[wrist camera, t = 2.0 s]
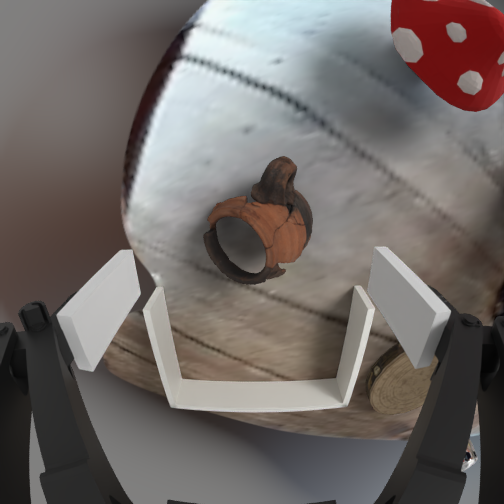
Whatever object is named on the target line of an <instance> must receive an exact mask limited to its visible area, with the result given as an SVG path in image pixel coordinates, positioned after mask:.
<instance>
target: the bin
mask: <svg viewBox="0 0 504 504" xmlns="http://www.w3.org/2000/svg"><path fill="white" fill-rule="evenodd" d="M374 311H375V308H374V306H373V304H372V303H371V301H370V299H369V298H368V296H367V295H366V293H365V291H364V290H363V288H362V287H361V285H360V286H354V291H353V298H352V303H351V309H350V315H349V320H348V325H347V331H346V336H345V341H344V345H343V350H342V355H341V359H340V363H339V368H338V372H337V376H336V378H331V379H318V380H302V381H275V382H234V381H207V380H191V379H182V376H181V372H180V368H179V364H178V359H177V355H176V351H175V346H174V341H173V337H172V332H171V327H170V322H169V317H168V311H167V306H166V300H165V295H164V289H163V287H156V289H155V291H154V292H153V294H152V296H151V297H150V299H149V300H148V302H147V304H146V305H145V307H144V309H143V313H144V318H145V322H146V326H147V330H148V334H149V338H150V341H151V345H152V349H153V353H154V356H155V360H156V363H157V367H158V370H159V373H160V376H161V380H162V383H163V386H164V389H165V392H166V395H167V398H168V401H169V404H170V407H172V408H181V409H192V410H205V411H223V412H289V411H306V410H320V409H330V408H340V407H348V404H349V401H350V398H351V395H352V392H353V389H354V385H355V382H356V379H357V376H358V372H359V369H360V366H361V362H362V359H363V355H364V351H365V348H366V344H367V340H368V336H369V332H370V328H371V324H372V320H373V315H374Z"/></svg>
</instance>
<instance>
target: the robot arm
mask: <svg viewBox="0 0 504 504" xmlns="http://www.w3.org/2000/svg"><path fill="white" fill-rule="evenodd" d="M367 292H368V293H369V295H370V297H371V298H372V300H373V301H374V303H375V304H376V306H377V307H378V309H379V310H380V312H381V313H382V315H383V317H384V318H385V320H386V321H387V323H388V325H389V326H390V328H391V329H392V331H393V333H394V334H395V336H396V337H397V339H398V341H399V342H400V344H401V346H402V347H403V349H404V351H405V352H406V354H407V356H408V357H409V359H410V361H411V363H412V364H413V366H414V368H415V369H418V368H423V367H427V366H430V364H431V362H432V360H433V357H434V355H435V356H436V357H437V359H438V360H439V361H438V363H437V365H436V368H435V370H434V372H433V374H432V376H431V378H430V380H431V384H430V387H429V390H428V393H427V396H426V398H425V401H424V404H423V407H422V409H421V412H420V414H419V417H418V420H417V422H416V424H415V427H414V429H413V432H412V434H411V436H410V438H409V441H408V443H407V445H406V447H405V450H404V452H403V454H402V456H401V458H400V460H399V462H398V464H397V466H396V468H395V469H394V471H393V473H392V475H391V477H390V479H389V481H388V483H387V484H386V486H385V488H384V489H383V491H382V493H381V494H380V496H379V497H378V499H377V500H376V501H375V503H374V504H458V503H459V500H460V498H461V495H462V492H463V489H464V486H465V482H466V473H464V472H462V471H461V468H462V464H463V461H464V457H465V454H466V450H467V446H468V442H469V438H470V434H471V429H472V424H473V419H474V414H475V408H476V402H478V412H479V425H480V444H481V471H480V491H479V503H478V504H504V316H499V317H497V318H496V319H495V321H494V324H493V326H483V325H482V323H481V321H480V320H479V319H478V318H476V317H475V316H472V315H470V314H459V312H458V311H457V310H456V309H455V308H454V307H453V306H452V305H451V304H450V303H449V302H447V300H446V299H445V298H444V297H442V295H441V294H440V293H439V292H438V291H437V290H436V289H434V288H432V287H431V286H429V285H426V284H425V283H424V282H423V281H422V280H421V279H420V278H419V277H418V276H417V275H416V274H415V273H414V272H413V271H412V270H411V269H410V268H408V267H407V266H406V265H405V264H404V263H403V262H402V261H401V260H400V259H399V258H398V257H397V256H396V255H395V254H394V253H393V252H392V251H390V250H389V249H388V248H387V247H374V252H373V259H372V265H371V272H370V278H369V284H368V289H367ZM140 295H141V293H140V288H139V282H138V277H137V272H136V267H135V261H134V255H133V250H120V251H119V252H118V253H117V254H116V255H115V256H114V257H113V258H112V259H111V260H110V261H108V262H107V263H106V264H105V265H104V266H103V267H102V268H101V269H100V270H99V271H98V272H97V273H96V274H95V275H94V276H93V277H92V278H91V279H90V280H89V281H88V282H87V283H86V284H85V285H84V286H83V287H82V288H81V289H80V290H78V291H77V292H75V293H74V294H72V295H71V296H70V297H69V298H68V299H67V300H66V302H64V303H63V304H62V305H61V306H60V307H59V308H58V309H57V310H56V312H54V313H53V315H52V316H51V317H50V316H49V313H48V311H47V308H46V305H45V303H44V302H42V301H34V302H31V303H28V304H26V305H25V306H23V307H22V308H21V309H20V310H19V313H18V314H19V317H20V319H21V322H22V324H23V327H24V329H25V331H22V332H16V330H15V328H14V325H13V324H12V323H10V322H5V323H0V504H31V498H30V479H29V445H30V426H31V414H32V412H33V417H34V423H35V429H36V433H37V438H38V442H39V446H40V451H41V455H42V458H43V461H44V465H45V470H46V471H45V472H44V473H41V474H40V482H41V486H42V489H43V492H44V495H45V498H46V501H47V504H133V503H132V502H131V500H130V499H129V498H128V496H127V495H126V493H125V491H124V490H123V488H122V486H121V484H120V482H119V481H118V479H117V477H116V475H115V473H114V471H113V469H112V467H111V465H110V463H109V461H108V459H107V457H106V455H105V453H104V451H103V449H102V446H101V444H100V442H99V440H98V438H97V435H96V433H95V431H94V428H93V426H92V424H91V421H90V418H89V416H88V413H87V410H86V408H85V405H84V402H83V399H82V397H81V394H80V391H79V388H78V385H77V381H76V379H75V375H74V372H73V369H72V367H71V365H70V364H71V362H72V361H73V359H75V362H76V364H77V366H78V368H79V369H82V370H87V371H92V372H93V371H94V369H95V368H96V366H97V364H98V363H99V361H100V359H101V357H102V356H103V354H104V352H105V351H106V349H107V347H108V346H109V344H110V342H111V341H112V339H113V337H114V336H115V334H116V332H117V331H118V329H119V327H120V326H121V324H122V323H123V321H124V319H125V318H126V316H127V315H128V313H129V312H130V310H131V308H132V307H133V305H134V303H135V302H136V301H137V299H138V298H139V296H140ZM167 504H196V503H187V502H180V501H173V500H168V501H167ZM309 504H336V500H332V501H325V502H318V503H309Z"/></svg>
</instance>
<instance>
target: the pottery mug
mask: <svg viewBox="0 0 504 504" xmlns="http://www.w3.org/2000/svg"><path fill="white" fill-rule="evenodd" d="M296 171H297V166H296V165H295V164H294V163H293V162H292V160H291V159H289V158H287V157H285V156H281V157H279V158H276V159H274V160H273V161H271V162H270V164H269V165H268V166H267V168H266V170H265V172H264V173H263V175H262V177H261V181H260V182H259V183H257V184H255V185H253V187H252V191H251V197H252V198H253V199H254V200H255V201H256V202H252V203H247V197H246V196H240V197H235V198H231V199H228V200H226V201H224V202H222V203H221V202H220V203H217V204H216V206H215V207H214V208H213V212H212V213H211V214H210V216H209V217H208V219H207V220H208V221H209V222H210V230H209V231H208V232H206V233H205V234H204V235H203V236H204V237H203V238H204V243H205V246H206V249H207V252H208V254H209V256H210V258H211V259H212V261H213V262H214V264H215V265H217V267H218V268H219V269H220V271H221V272H222V273H224V274H225V275H226V276H227V277H229V278H230V279H232V280H234V281H236V282H238V283H242V284H254V285H255V284H259V283H262V282H265V281H266V279H271V278H275V277H279V276H281V275H283V274H284V273H285V272H286V270H285V269H281V268H280V267H279V266H278V263H290V262H295V260H296V259H297V258H298V257H299V256H300V255H301V253H302V250H303V249H304V248H305V247H306V246H307V244H308V242H309V240H310V237H311V233H312V224H313V218H312V212H311V209H310V206H309V204H308V202H307V201H306V199H305V198H304V197H303V196H302V195H301V194H300V193H299V192H298V191H297V190H295V191H294V186H293V180H294V177H295V175H296ZM286 204H289V205H291V209H290V212H289V211H288V208H287V207H286V206H285V205H286ZM227 216H230V217H236V218H241V219H242V220H243V221H245V222H246V223H248V224H249V225H250V226H251V227H252V228H253V229H254V230H255V231H256V232H257V234H258V235H259V237H260V238H261V240H262V242H263V245H264V247H265V251H266V263H265V267H264V269H263V270H262V271H261V272H259V273H249V272H246V271H244V270H242V269H240V268H239V267H238V266H236V265H235V264H234V263H233V262H231V261H230V260H229V258H228V256H227V255H226V254H225V252H224V251H223V249H222V248H221V246H220V244H219V242H218V238H217V231H216V223H217V221H218V220H219V219H220V218H222V217H227Z"/></svg>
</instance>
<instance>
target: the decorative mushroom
mask: <svg viewBox="0 0 504 504" xmlns="http://www.w3.org/2000/svg"><path fill="white" fill-rule="evenodd" d="M391 33H392V37H393V41H394V45H395V49H396V50H397V51H398V53H399V54H400V55H401V57H402V58H403V60H404V61H405V62H406V64H407V65H408V66H409V67H410V68H411V69H412V70H413V71H414V72H415V73H416V74H417V75H418V77H419V78H420V79H421V80H422V81H423V82H424V83H425V84H426V85H427V86H428V87H429V88H430V89H431V90H432V91H433V92H434V93H435V94H436V95H438V96H439V97H441V98H442V99H443V100H445V101H446V102H448V103H449V104H451V105H453V106H455V107H457V108H460V109H462V110H465V111H474V112H477V111H481V110H485V109H487V108H489V107H490V106H491V105H492V104H494V103H495V102H496V101H497V100H498V99H499V98H500V97H501V96H502V94H503V93H504V14H503V13H501V12H500V11H499V10H497V9H496V8H495V7H493V6H492V5H490V4H489V3H488V2H486V1H484V0H392V3H391Z"/></svg>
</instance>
